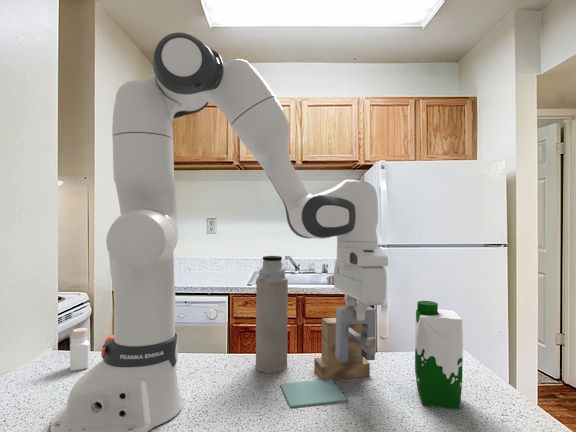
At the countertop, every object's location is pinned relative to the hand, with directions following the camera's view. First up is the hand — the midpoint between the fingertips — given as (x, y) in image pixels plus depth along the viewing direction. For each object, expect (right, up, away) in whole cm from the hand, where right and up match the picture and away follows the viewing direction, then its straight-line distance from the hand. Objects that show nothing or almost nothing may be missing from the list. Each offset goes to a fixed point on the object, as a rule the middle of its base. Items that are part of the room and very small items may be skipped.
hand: (355, 316), depth 81 cm
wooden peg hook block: (0, -16, +2) cm, 16 cm away
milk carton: (+17, -16, -4) cm, 24 cm away
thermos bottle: (-19, -16, +12) cm, 28 cm away
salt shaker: (-67, -16, +11) cm, 70 cm away
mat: (-10, -16, -2) cm, 19 cm away
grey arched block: (0, -9, 0) cm, 9 cm away
